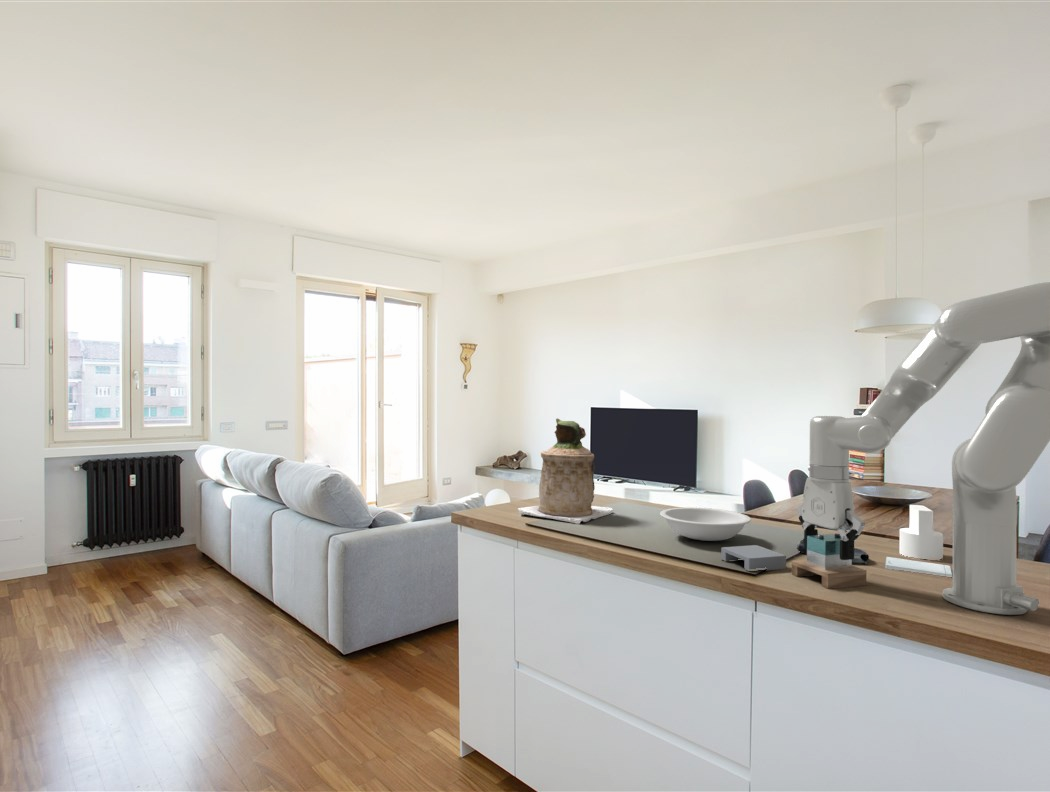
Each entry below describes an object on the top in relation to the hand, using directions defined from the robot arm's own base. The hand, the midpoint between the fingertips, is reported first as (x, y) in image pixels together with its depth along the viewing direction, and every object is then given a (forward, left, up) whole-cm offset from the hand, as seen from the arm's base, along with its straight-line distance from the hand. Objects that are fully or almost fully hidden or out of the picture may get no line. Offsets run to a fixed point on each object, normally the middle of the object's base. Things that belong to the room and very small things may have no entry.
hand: (828, 553), depth 124 cm
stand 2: (0, 0, -6) cm, 6 cm away
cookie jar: (+81, +29, -6) cm, 86 cm away
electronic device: (+15, -17, -6) cm, 23 cm away
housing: (0, 0, -3) cm, 3 cm away
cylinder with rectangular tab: (+10, -39, -6) cm, 41 cm away
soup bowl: (+39, +4, -6) cm, 40 cm away
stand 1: (+14, +8, -6) cm, 17 cm away
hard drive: (+1, -27, -6) cm, 28 cm away
